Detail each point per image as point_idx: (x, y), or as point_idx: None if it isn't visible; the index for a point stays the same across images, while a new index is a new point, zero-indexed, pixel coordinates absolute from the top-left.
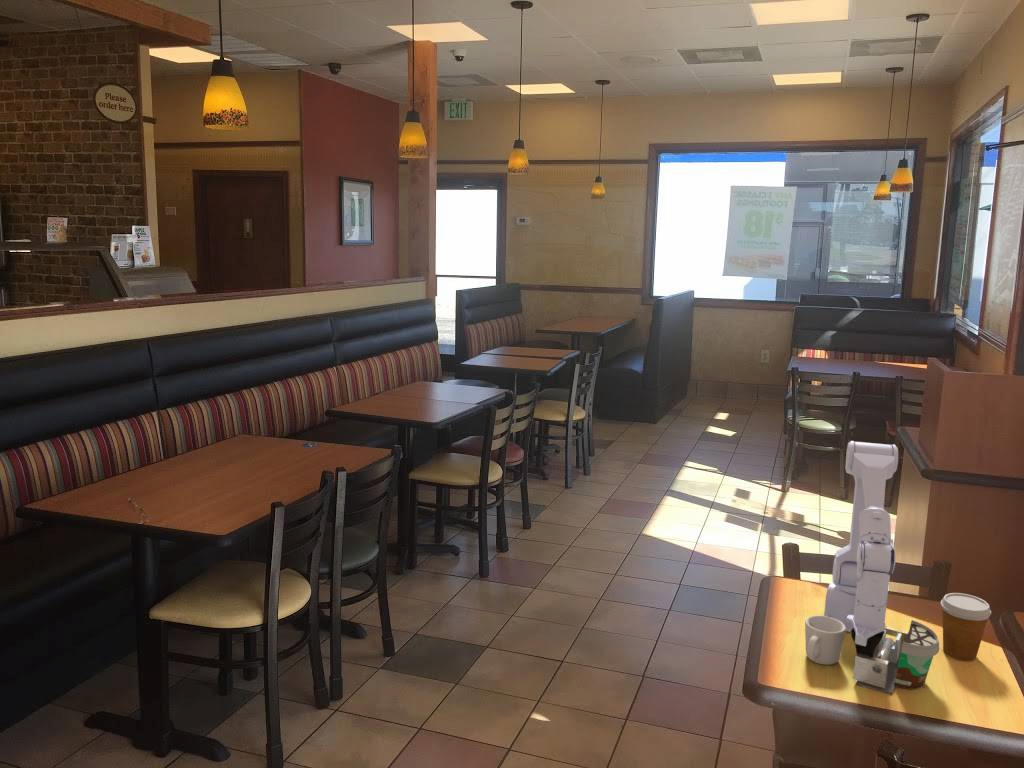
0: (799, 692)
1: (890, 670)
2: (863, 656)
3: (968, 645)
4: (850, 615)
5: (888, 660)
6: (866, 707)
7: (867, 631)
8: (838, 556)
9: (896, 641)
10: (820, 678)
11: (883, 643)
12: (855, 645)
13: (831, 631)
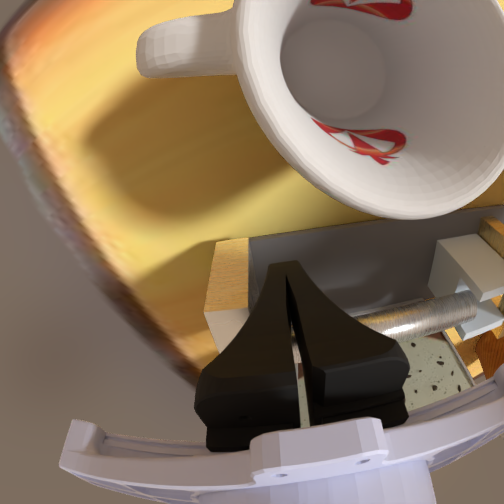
0: (34, 139)
1: (380, 290)
2: (228, 335)
3: (486, 377)
4: (372, 457)
5: (433, 269)
6: (126, 301)
7: (154, 498)
8: None
9: (461, 332)
10: (160, 130)
11: (440, 312)
12: (241, 328)
13: (450, 92)
